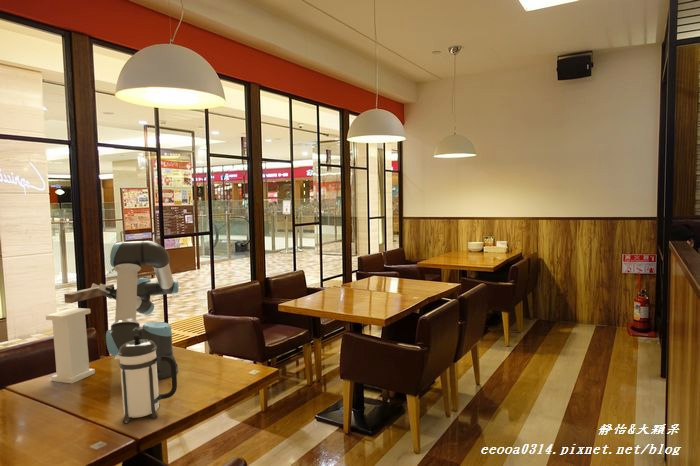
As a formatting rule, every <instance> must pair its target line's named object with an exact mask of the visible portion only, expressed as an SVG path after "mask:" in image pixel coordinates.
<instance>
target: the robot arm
mask: <svg viewBox="0 0 700 466" xmlns="http://www.w3.org/2000/svg"><path fill="white" fill-rule="evenodd" d="M109 259H110V260H109V262H110V263H109V264H110V266H111V267H112V268H113V270H114V271H115V272H116V273H117V274H116V275H117V276H116V288H115V286H114V287H112V289H111V288H110V287H108V286H106V284H104V283H100V284H99V285H98V284H96V283H94V282H93V283H92V284H91V287H90V288H93V287H97V286H99V288H98V289H100V290H102V291H104V292H107V293H110V294H106V295H102V296H104V297H106V298H108V299H110V300H111V299H113V300H115V314H114V315H115V316H114V317H115V318H114V322H113V323H112V324H111V325H110V329H108V330H106V333H105V344H106V347H107V351H108V353H109V355H110V356H112V357H116V355H117V354H118V351H119V350H120V347H121V346H122V345H123V344H125V343H127V342H129V341H133V340H134V339H133V338H134V336H135V335H139V336H140V339H148V340H151V341H153V342H154V343H155V345H156V346H157V349H156V355H157V357H159V356H169V357H171V358H172V359H173V360H174V362H175V365H176V374H177V373H178V372H179V366H178V363H177V361H176V358H175V356H174V347H173V331H172V326H171V324H170V323H167V322H163V321H150V322H149V321H148V322H145V323H143V325H142V326H141V327H140V322H138V321H137V313H139V314H142V315H144V316H147V315H150V314H151V313H152V312H153V311H154V309H155V305H154V303H153V302H152V301H151V296H160V295H172V294H173V295H174V294H178V293H179V290H180V289H179V281H178V279H173V274H172V270H171V267H170V261H171V258H170V254H169V252H168V251H167V249H166V248H165V247H164V246H162V245H161V244H159V243H157V242H155V241H152V240H141V241H138V240H137V241H122V242H121V241H120V242H116V243H114V244H113V246H112V247H111V250H110V255H109ZM146 265H147V266H148V265H149V266H151V267H152V268H153V269H154V274H155V277H156V280H157V281H151V279H150V278H148V277H140V278H138V272H140V271H141V270H142V266H146ZM157 377H158V380H163V379H166V378H170V377H171V366H170V364H169V363H168V362H167V361H157Z"/></svg>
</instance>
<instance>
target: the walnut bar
mask: <svg viewBox="0 0 700 466" xmlns="http://www.w3.org/2000/svg"><path fill="white" fill-rule="evenodd" d="M105 285H106V286H108V287H110V288H111V289H112V287H115V285H114V284H112V283H106V284H105ZM99 286H100V285H99ZM99 286H97V287H93V288H91V287H89V288H85V289H80V290H76V291H72V292H68V293H64V295H63V296H64V303H65V304H73V303H78V302H82V301H85V300H89V299H90V300H91V299H93V298H98V297H101V296H103V295H106V294H110V293H107V292H104V291H102V290H100V289H98V288H99Z"/></svg>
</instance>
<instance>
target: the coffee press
mask: <svg viewBox="0 0 700 466" xmlns="http://www.w3.org/2000/svg"><path fill="white" fill-rule="evenodd" d="M133 339H134V340H133V341H129V342H127V343H125V344H123V345H122V346H121V347H120V350H119V351H118V354H117V355H116V356H114V360H119V361H118V365H119V369H120V381H121V382H120V384H121V396H122V409H123V414H124V417H123V419H122V423H123V424H128V423H129V422H130V420H131V419H134V418H142V417H146V416H150V417H151V419H152V420H155V419H157V418H158V414H157V410H158V409H159V408H160V406H161V404H160V400H165V399H169V398H172V396H173V397H174V395H175V394H176V392H177V388H178V377H177V373H176V365H175V362H174V360H173V359H172V358H171V357H169V356H159V357H157V355H156V349H157V346H156V345H155V343H154V342H153V341H151V340H148V339H140V336H139V335H135V336H134V338H133ZM157 361H167V362H168V363H169V364H170V366H171V376H170V377H171V389H170V391H168V392H166V393H160V391H159V379H158V377H157Z"/></svg>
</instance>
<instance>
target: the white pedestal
mask: <svg viewBox="0 0 700 466" xmlns="http://www.w3.org/2000/svg"><path fill="white" fill-rule="evenodd" d="M91 312H92V311H91V308H85V307H84V308H81V307H73V308H72V307H71V308H68V309H64V310H61V311H57V312H53V313H50V314H46V315H45V320H46V321H51V322H52V331H53V332H52V333H53V334H52V335H53V345H54V356H55V357H54V358H55V370H56V374H54V375H52V376H50V377H51V378H50V379H51V382H59V383H66V384H75V383H76V382H79V381H81V380H83V379H85V378H87V377H89V376H90V377H91V376H92V375H94V374H96V370H95V368H90V362H89V361H90V359H89V348H88V334H87V321H86V315H89V314H91Z"/></svg>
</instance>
